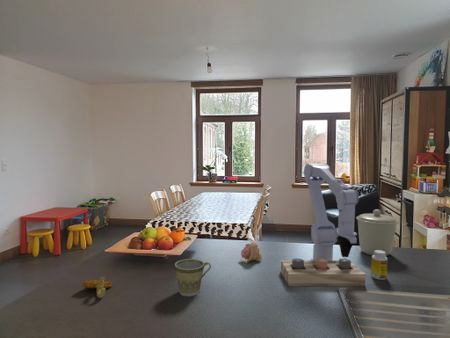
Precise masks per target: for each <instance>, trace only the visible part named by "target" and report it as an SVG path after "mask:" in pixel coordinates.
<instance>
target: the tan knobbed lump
mask: <svg viewBox="0 0 450 338" xmlns="http://www.w3.org/2000/svg"><path fill="white" fill-rule="evenodd" d="M240 255H241V258H243V259H245V260H246V261H245V264H248V263H249V262H252V261H255V262H258V261H261V260H262V259H263V257H262V255H263V254H262V253H261V252H260V248H259V245H258V244H257V242H256V241H255V240H253V241H251V243H246V244H245V246H244V247H243V249H242V250H241V251H240Z"/></svg>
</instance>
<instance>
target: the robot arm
mask: <svg viewBox="0 0 450 338" xmlns="http://www.w3.org/2000/svg"><path fill="white" fill-rule="evenodd" d="M303 177H304V181H305V183H306V185H308V186H307V187H308V191H309V196H310V200H311V206H312V211H313V214H314V220H315V222H314V224H312V226H311V227H310V230H311V231H310V232H311V234H310V237H311V241H312V242H313V243H314V244H313V249H312V250H313V251H312V258H310V261H316V259H325V260H327V261H334V259H333V255H334V252H333V251H334V246H335V245H336V243H338V245H339V249H340V254H341V257H342V258H349V256H350V254H351V249H352V247H353V245H354V244H357V237H356V236H358V233H357V232H355V218H356V217H355V214H356V205H358V203H359V200H360V199H359V198H360V197H359V196H360V195H359V193H358V191H357V190H356V189H353V188H352V189H351V188H350V187H349V186H347V185H346V183H344V182H343V180H342V179H341V178H336V177H335V176H334V175H333V174H332V172H331V167H330V165H328V164H327V163H306V164H305V166H304V168H303ZM325 183H326V184H328V189H329V190H330V191H331V193H332V194H333V195H334V196H335V201H336V204H337V205H336V207H337V210H338V219H337V221H338V224H337V227H336V226H335V224H334V223H333V222H331V221H330V220H329V219H328V214H327V211H326V210H327V209H326V205H325V200H324V196H323V193H322V192H323V191H322V187H321V186H322V185H323V184H325Z"/></svg>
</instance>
